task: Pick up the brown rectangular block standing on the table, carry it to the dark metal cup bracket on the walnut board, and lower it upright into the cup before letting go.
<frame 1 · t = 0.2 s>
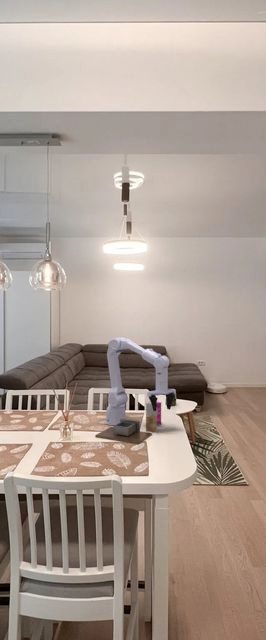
hand: (161, 409, 183), 10 cm above the table, tool pointing down, fingers open, 7 cm apart
brown rectangular block: (151, 430, 183), on the table
bracket: (124, 435, 176), on the table
supplement box: (153, 425, 193), on the table
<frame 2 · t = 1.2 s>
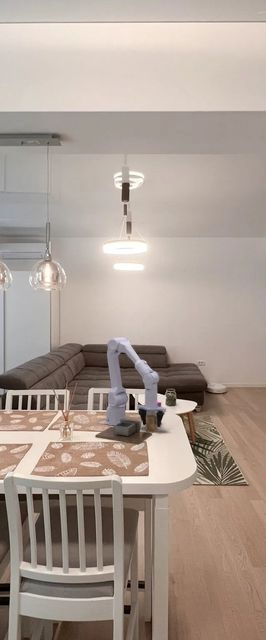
hand: (151, 425, 183), 2 cm above the table, tool pointing down, fingers open, 7 cm apart
nothing on the table moved.
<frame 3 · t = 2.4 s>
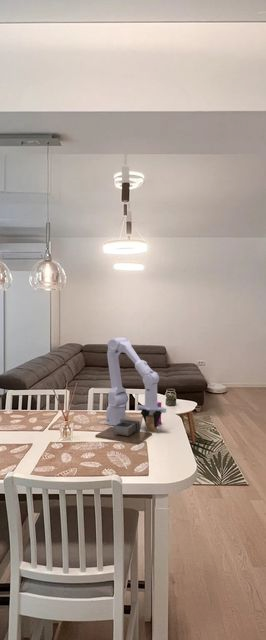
hand: (151, 426, 183), 2 cm above the table, tool pointing down, fingers closed on brown rectangular block, 4 cm apart
brown rectangular block: (151, 430, 183), on the table, touching gripper
everything else where it was.
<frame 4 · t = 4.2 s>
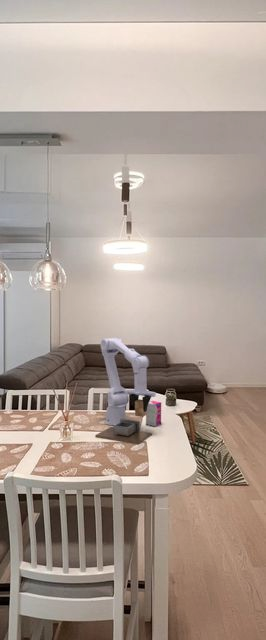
hand: (140, 410, 180), 10 cm above the table, tool pointing down, fingers closed on brown rectangular block, 4 cm apart
brown rectangular block: (140, 415, 181), point 8 cm above the table, touching gripper
everything else where it was.
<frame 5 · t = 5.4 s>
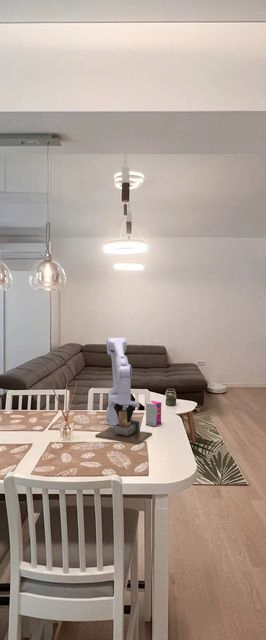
hand: (124, 421, 176), 7 cm above the table, tool pointing down, fingers closed on brown rectangular block, 4 cm apart
brown rectangular block: (124, 425, 176), point 4 cm above the table, touching gripper
everything else where it was.
when the fingers open (6 cm above the table, at t = 6.3 s): brown rectangular block drops 1 cm, resting on bracket.
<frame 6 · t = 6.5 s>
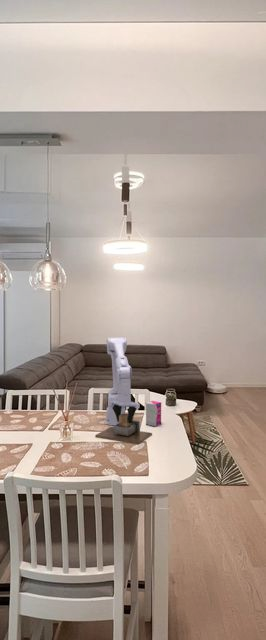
hand: (124, 422, 176), 6 cm above the table, tool pointing down, fingers open, 5 cm apart
brown rectangular block: (124, 430, 177), point 3 cm above the table, touching bracket
everything else where it was.
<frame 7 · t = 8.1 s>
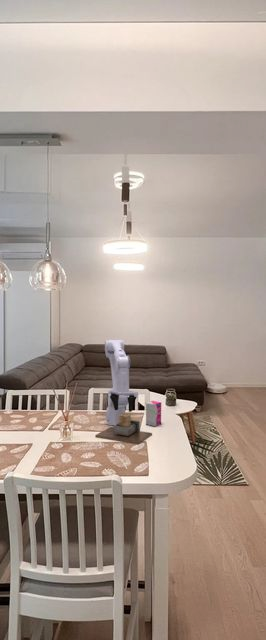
hand: (123, 410, 181), 10 cm above the table, tool pointing down, fingers open, 7 cm apart
nothing on the table moved.
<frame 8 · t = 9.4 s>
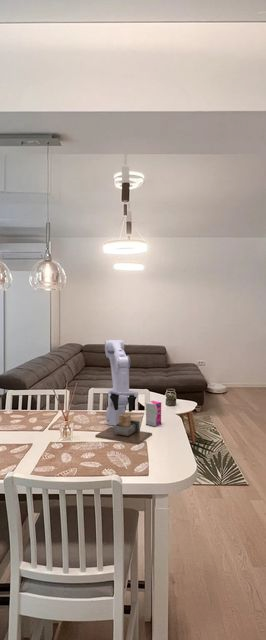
hand: (123, 410, 181), 10 cm above the table, tool pointing down, fingers open, 7 cm apart
nothing on the table moved.
at the end: brown rectangular block 0.1 cm off-centre on the bracket, point 2.5 cm above the bracket's base; brown rectangular block tilted 0°; the gripper is holding nothing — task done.
